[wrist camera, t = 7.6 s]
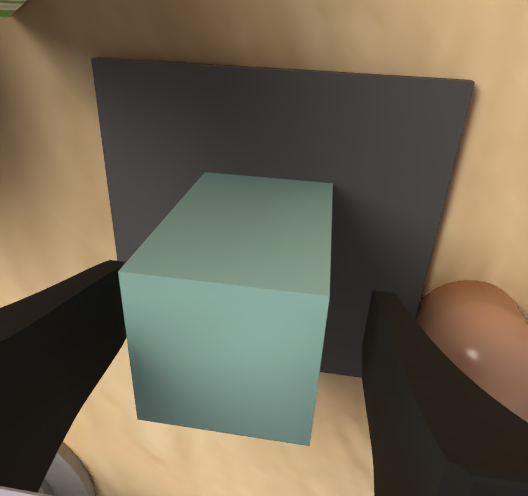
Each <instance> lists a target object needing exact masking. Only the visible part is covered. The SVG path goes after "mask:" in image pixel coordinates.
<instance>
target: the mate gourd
mask: <svg viewBox="0 0 528 496" xmlns="http://www.w3.org/2000/svg"><path fill="white" fill-rule="evenodd" d="M38 493H41V494H47V495H52V496H95V492H94V485H93V483H92V480H91V478H90V476H89V474H88V471H87V470H86V469H85V467H84V466H83V464H82V463H81V461H80V460H79V458H78V457H77V456H76V455H75V454H74V453H73V452H72V451H71V450H70V449H69V448H68V447H67V446H66V445H65V444H64V443H63V442H62V444H61V446H60V448H59V450H58V452H57V454H56V456H55V458H54V460H53V462H52V464H51V466H50V468H49V470H48V472H47V474H46V476H45V478H44V480H43V482H42V485H41V487H40V489H39V491H38Z"/></svg>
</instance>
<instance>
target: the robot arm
mask: <svg viewBox="0 0 528 496" xmlns="http://www.w3.org/2000/svg"><path fill="white" fill-rule="evenodd" d="M125 263H126V262H122V261H113V260H109V261H106V262H103V263H101V264H98V265H96V266H94V267H92V268H89V269H87V270H85V271H83V272H81V273H79V274H77V275H75V276H73V277H70V278H68V279H66V280H64V281H62V282H60V283H58V284H56V285H54V286H51V287H49V288H47V289H45V290H42V291H40V292H38V293H35V294H33V295H31V296H29V297H26V298H24V299H22V300H19V301H17V302H14V303H12V304H9V305H7V306H4V307H1V308H0V496H52V495H47V494H41V493H38V491H39V489H40V487H41V485H42V482H43V480H44V478H45V476H46V474H47V472H48V470H49V468H50V466H51V464H52V462H53V460H54V458H55V456H56V454H57V452H58V450H59V448H60V446H61V444H62V442H63V440H64V438H65V436H66V434H67V432H68V431H69V429H70V427H71V425H72V423H73V421H74V419H75V417H76V416H77V414H78V412H79V411H80V409H81V407H82V406H83V404H84V403H85V401H86V400H87V398H88V397H89V395H90V394H91V392H92V391H93V389H94V388H95V386H96V385H97V383H98V382H99V380H100V379H101V377H102V376H103V374H104V373H105V371H106V370H107V368H108V367H109V365H110V364H111V362H112V361H113V359H114V358H115V356H116V355H117V353H118V352H119V350H120V348H121V347H122V345H123V343H124V341H125V339H126V337H127V335H126V328H125V320H124V313H123V305H122V297H121V290H120V282H119V274H118V271H119V270H120V269H121V268H122V267H123V265H124V264H125ZM362 381H363V389H364V396H365V404H366V411H367V418H368V425H369V432H370V439H371V446H372V455H373V466H374V493H375V496H528V422H526V421H525V420H523V419H522V418H520V417H519V416H517V415H516V414H515V413H513V412H512V411H510V410H509V409H508V408H506V407H505V406H504V405H502V404H501V403H500V402H498V401H497V400H496V399H494V398H493V397H492V396H490V395H489V394H488V393H487V392H486V391H484V390H483V389H482V388H481V387H479V386H478V385H477V384H476V383H475V382H474V381H473V380H471V379H470V378H469V377H468V376H467V375H466V374H465V373H464V372H462V371H461V370H460V369H459V368H458V367H457V366H456V365H455V364H454V363H453V362H452V361H451V360H450V359H449V358H448V357H447V356H446V355H445V354H444V353H443V352H442V351H441V350H440V349H439V348H438V347H437V345H436V344H435V343H434V342H433V341H432V340H431V339H430V337H429V336H428V335H427V334H426V333H425V331H424V330H423V329H422V328H421V327H420V325H419V324H418V323H417V322H416V320H415V319H414V318H413V316H412V315H411V314H410V312H409V311H408V310H407V308H406V307H405V306H404V304H403V303H402V302H401V300H400V299H399V298H398V297H397V295H396V294H395V293H392V292H384V291H375V290H372V295H371V300H370V306H369V311H368V317H367V322H366V327H365V333H364V338H363V343H362Z"/></svg>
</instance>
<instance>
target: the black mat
mask: <svg viewBox="0 0 528 496" xmlns="http://www.w3.org/2000/svg"><path fill="white" fill-rule="evenodd" d="M91 60H92V68H93V76H94V83H95V91H96V99H97V106H98V114H99V122H100V129H101V137H102V145H103V152H104V160H105V168H106V175H107V183H108V191H109V198H110V206H111V214H112V221H113V229H114V237H115V244H116V252H117V260H118V261H122V262H127V261H128V260H129V258H130V257H131V256H132V255H133V254H134V253H135V252H136V250H137V249H138V248H139V247H140V246H141V245H142V244H143V242H144V241H145V240H146V239H147V238H148V237H149V236H150V234H151V233H152V232H153V231H154V230H155V229H156V228H157V226H158V225H159V224H160V223H161V222H162V221H163V220H164V218H165V217H166V216H167V215H168V214H169V213H170V212H171V210H172V209H173V208H174V207H175V206H176V205H177V203H178V202H179V201H180V200H181V199H182V198H183V197H184V195H185V194H186V193H187V192H188V191H189V190H190V189H191V187H192V186H193V185H194V184H195V183H196V182H197V181H198V179H199V178H200V177H201V176H202V175H203V174H204V173H205V172H209V173H221V174H232V175H243V176H255V177H266V178H277V179H289V180H300V181H311V182H323V183H333V195H332V230H331V266H330V297H329V305H328V312H327V320H326V327H325V335H324V342H323V350H322V357H321V365H320V372H325V373H332V374H339V375H347V376H354V377H361V378H362V343H363V338H364V333H365V327H366V322H367V317H368V311H369V306H370V300H371V295H372V290H375V291H384V292H392V293H395V294H396V295H397V297H398V298H399V299H400V300H401V302H402V303H403V304H404V306H405V307H406V308H407V310H408V311H409V312H410V314H411V315H412V316H413V318H414V319H415V318H416V314H417V310H418V306H419V302H420V298H421V294H422V290H423V286H424V282H425V278H426V274H427V270H428V266H429V262H430V258H431V254H432V250H433V246H434V242H435V238H436V234H437V230H438V226H439V222H440V218H441V214H442V210H443V206H444V202H445V198H446V194H447V190H448V186H449V182H450V178H451V174H452V170H453V166H454V162H455V158H456V154H457V150H458V146H459V142H460V138H461V134H462V130H463V126H464V122H465V118H466V114H467V110H468V106H469V102H470V98H471V94H472V90H473V86H474V81H471V80H463V79H447V78H430V77H414V76H397V75H380V74H364V73H347V72H331V71H314V70H297V69H281V68H264V67H247V66H231V65H214V64H198V63H181V62H164V61H148V60H131V59H115V58H92V59H91Z"/></svg>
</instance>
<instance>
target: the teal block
mask: <svg viewBox="0 0 528 496" xmlns="http://www.w3.org/2000/svg"><path fill="white" fill-rule="evenodd" d="M332 195H333V183H323V182H311V181H300V180H289V179H277V178H266V177H255V176H243V175H232V174H221V173H209V172H205V173H204V174H203V175H202V176H201V177H200V178H199V179H198V181H197V182H196V183H195V184H194V185H193V186H192V187H191V189H190V190H189V191H188V192H187V193H186V194H185V195H184V197H183V198H182V199H181V200H180V201H179V202H178V203H177V205H176V206H175V207H174V208H173V209H172V210H171V212H170V213H169V214H168V215H167V216H166V217H165V218H164V220H163V221H162V222H161V223H160V224H159V225H158V226H157V228H156V229H155V230H154V231H153V232H152V233H151V234H150V236H149V237H148V238H147V239H146V240H145V241H144V242H143V244H142V245H141V246H140V247H139V248H138V249H137V250H136V252H135V253H134V254H133V255H132V256H131V257H130V258H129V260H128V261H127V262H126V263H125V264H124V265H123V267H122V268H121V269H120V270H119V271H118V274H119V282H120V290H121V297H122V305H123V313H124V320H125V328H126V335H127V343H128V351H129V358H130V366H131V373H132V381H133V389H134V396H135V404H136V412H137V419H138V420H145V421H151V422H158V423H164V424H171V425H177V426H183V427H190V428H196V429H203V430H209V431H216V432H222V433H229V434H235V435H241V436H248V437H254V438H261V439H267V440H274V441H280V442H287V443H293V444H299V445H306V446H310V439H311V432H312V424H313V417H314V409H315V402H316V394H317V387H318V379H319V372H320V365H321V357H322V350H323V342H324V335H325V327H326V320H327V312H328V305H329V297H330V266H331V230H332Z"/></svg>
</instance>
